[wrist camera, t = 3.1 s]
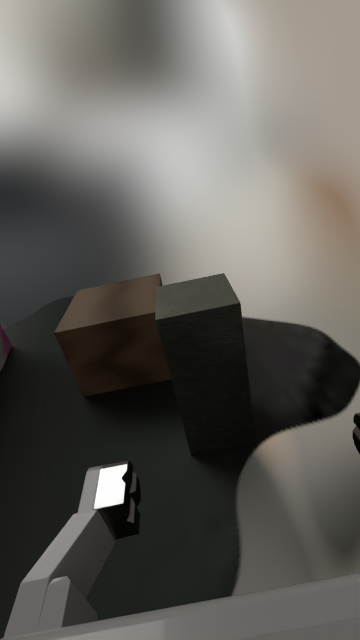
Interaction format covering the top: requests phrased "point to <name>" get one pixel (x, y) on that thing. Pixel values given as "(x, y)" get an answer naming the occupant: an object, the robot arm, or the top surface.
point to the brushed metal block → (207, 362)
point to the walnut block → (114, 336)
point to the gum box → (4, 347)
